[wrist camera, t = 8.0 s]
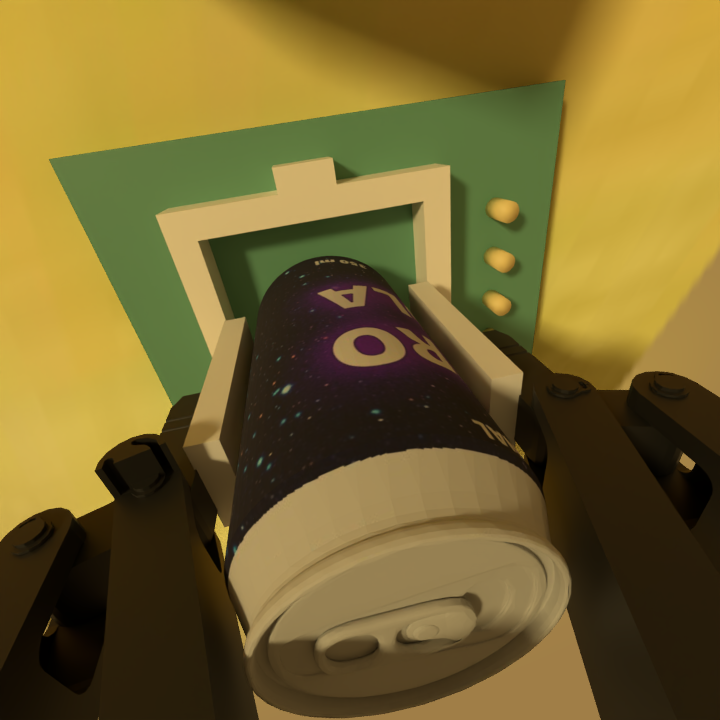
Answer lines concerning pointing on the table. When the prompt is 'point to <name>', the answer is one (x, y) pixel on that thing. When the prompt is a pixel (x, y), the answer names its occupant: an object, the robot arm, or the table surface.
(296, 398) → the beverage can
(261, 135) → the header board
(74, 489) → the table surface
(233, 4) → the table surface
